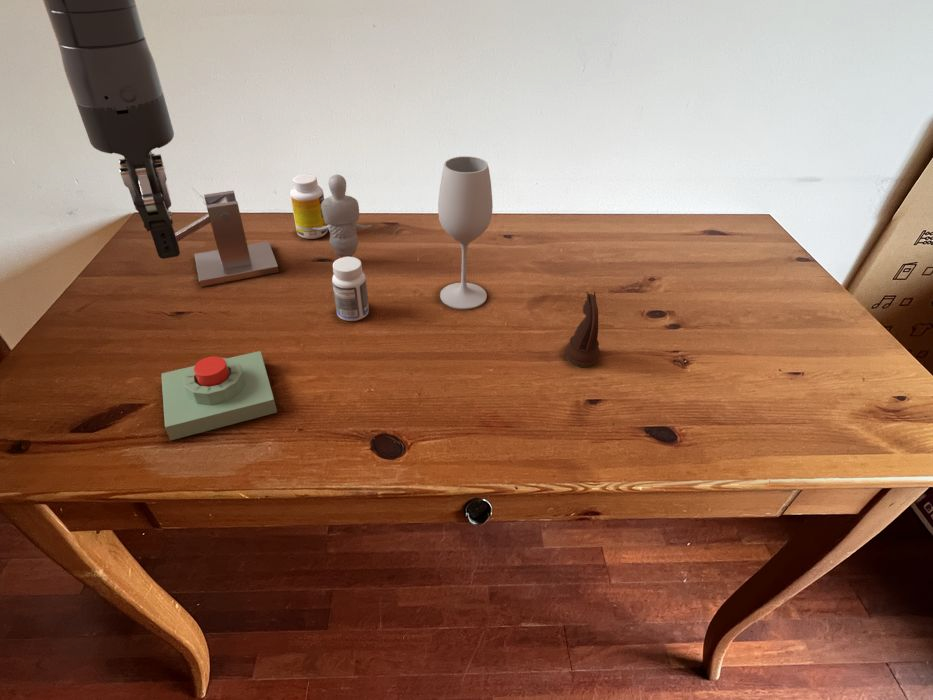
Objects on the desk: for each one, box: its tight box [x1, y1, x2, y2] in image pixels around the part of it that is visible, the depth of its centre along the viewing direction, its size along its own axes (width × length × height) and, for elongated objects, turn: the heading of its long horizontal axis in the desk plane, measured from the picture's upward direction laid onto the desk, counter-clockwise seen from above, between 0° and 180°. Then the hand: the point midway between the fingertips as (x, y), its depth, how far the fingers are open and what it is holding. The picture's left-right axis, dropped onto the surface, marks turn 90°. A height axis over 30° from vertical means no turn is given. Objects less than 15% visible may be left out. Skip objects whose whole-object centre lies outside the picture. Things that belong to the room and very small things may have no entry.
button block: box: [160, 350, 278, 441], centre depth 73 cm, size 12×10×4 cm
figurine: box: [312, 174, 373, 258], centre depth 97 cm, size 9×4×15 cm, turn 99°
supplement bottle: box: [289, 173, 329, 240], centre depth 106 cm, size 6×6×10 cm
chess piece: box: [564, 291, 600, 368], centre depth 79 cm, size 5×5×10 cm
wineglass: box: [437, 155, 494, 310], centre depth 87 cm, size 8×8×21 cm
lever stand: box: [194, 190, 280, 288], centre depth 96 cm, size 12×9×12 cm
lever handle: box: [175, 197, 230, 243], centre depth 93 cm, size 13×3×3 cm, turn 114°
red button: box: [194, 355, 229, 387], centre depth 72 cm, size 4×4×2 cm
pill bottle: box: [331, 256, 370, 322], centre depth 87 cm, size 5×5×8 cm
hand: (169, 254), depth 68 cm, fingers closed
